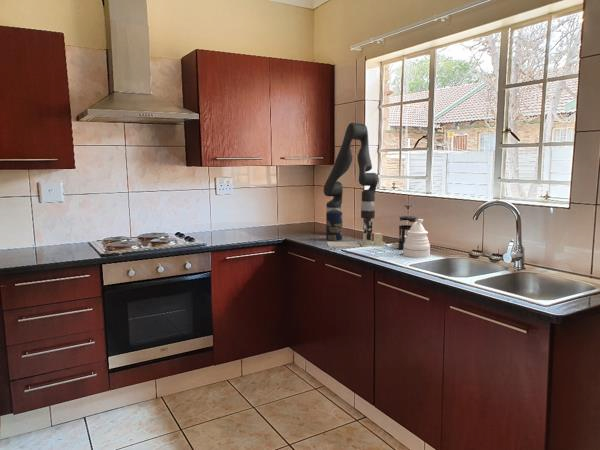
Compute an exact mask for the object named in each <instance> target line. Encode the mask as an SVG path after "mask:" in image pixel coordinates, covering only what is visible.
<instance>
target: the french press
mask: <svg viewBox="0 0 600 450" xmlns="http://www.w3.org/2000/svg"><path fill="white" fill-rule="evenodd" d="M404 207H405V208H406V209H407V210H410V208H411V207H413V206H412V205H404ZM398 218H399V222H401V221H407V222H406V224H404V225H403V224H402V225H399V226H398V229H399V230H398V231H399V232H398V233H399V234H398V246H397V249H398V250H401V251H403V248H404V243H405V240H406V237H407V235H408V233H407V231H409V230H410V228H411V226H412V225H413V224H412V225H411V224H410V225H409V223H415V222H417V221H416V219H417V217H416V216H411V215H403V216H399V217H398Z"/></svg>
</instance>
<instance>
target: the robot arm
mask: <svg viewBox="0 0 600 450" xmlns="http://www.w3.org/2000/svg"><path fill="white" fill-rule="evenodd" d="M353 140H357V141H359V142H360V144H361V145H360V149H359V150H358V153H357V159H356V160H357V164H358V168H359V170H358V171H359V172H358V183H359V185H360V186H361V187H362V186H363V187H364V186H365V187H369V188H368V189H365V190H363V191H362V192H361V203H360V218H361V219H362V221H363V223H362V224H363V226H362V229H363V233H367V240H371V234H372V233H373V221H372V220H371V219H375V216H376V212H375V211H376V204H375V202H376V199H375V196H376V195H375V194H376V189H377V186H378V183H379V176H378V174H377V173H376V172H369V171H371V170H372V169H373V164H372V160H371V156H370V147H369V146H370V145H369V131H368V127H367V125H366V124H364V123H359V122H350V123H349V124H348V125H347V127H346V130H345V132H344V137H343V140H342V142H341V143H342V144H341V146H340V149H339V152H338V153H337V156H336V158H335V162H334V164H333V166H332V169H331V171H330V173H329V176H328V177H327V179H326V180H325V183H324V186H323V193H324V195H325V197H332V199H331V200H329V201H328V202H326V209H325V210H326V211H325V212H326V213H327V212H328V211H331V210H333V211H335V210H338V211H341V212H342V203H343V192H344V191H343V189H344V188H343V184H342V183H341V182H340V181H338V180H339V179H340V178H341V177H342V176H343V175H345V174H346V173H347V171H349V169H350V167H351V164H352V162H353V153H352V150H351V149H352V148H351V145H352V141H353Z"/></svg>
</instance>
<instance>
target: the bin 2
mask: <svg viewBox="0 0 600 450" xmlns="http://www.w3.org/2000/svg"><path fill="white" fill-rule="evenodd" d="M357 243H358V244H359V245H360V247H387V248H388V246H389V245H388V244H387V243H386V242H384V241H383V240H382V245H375V244H374V240H373V241H372V245H364V244H363V241H358V242H357Z"/></svg>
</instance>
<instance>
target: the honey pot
mask: <svg viewBox="0 0 600 450" xmlns="http://www.w3.org/2000/svg"><path fill="white" fill-rule="evenodd" d="M423 222H424V218H418V219H417V221H416V222H413V224H412V226H411V228H410V230H408V231H407V230H406V236H407V237H406V239H405V243H404V248H403V250H402V255H403V256H405V257H409V258H419V259H421V258H428V257H430V255H431V249H430V248H431V244H430V241H429V238H428V236H427V235H428V234H429V232H428V231H427V230H426V229H425V227H424V225H423V224H422V223H423ZM407 233H408V235H407Z"/></svg>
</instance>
